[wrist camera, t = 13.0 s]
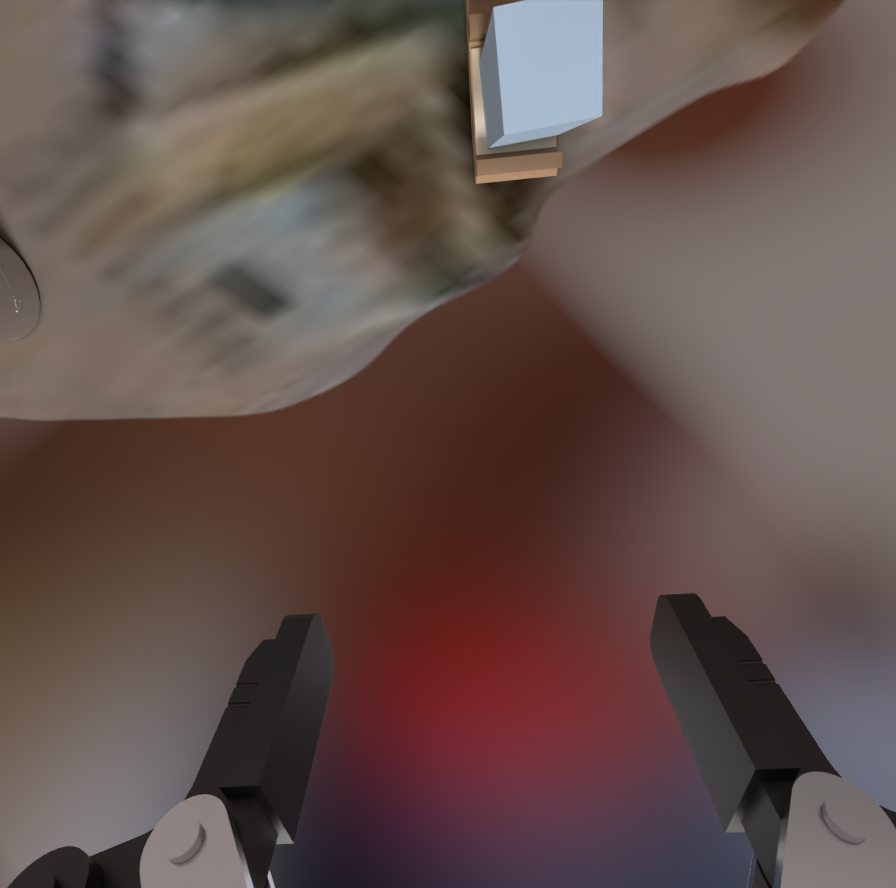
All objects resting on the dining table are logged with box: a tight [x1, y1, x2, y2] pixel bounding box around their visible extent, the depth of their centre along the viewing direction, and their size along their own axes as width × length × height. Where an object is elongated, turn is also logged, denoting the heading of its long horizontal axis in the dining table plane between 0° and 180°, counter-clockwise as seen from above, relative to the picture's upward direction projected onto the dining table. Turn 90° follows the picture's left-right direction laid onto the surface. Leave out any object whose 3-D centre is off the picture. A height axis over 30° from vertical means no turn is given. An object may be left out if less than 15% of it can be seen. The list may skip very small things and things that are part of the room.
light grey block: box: [479, 0, 603, 149], centre depth 22 cm, size 4×4×10 cm
